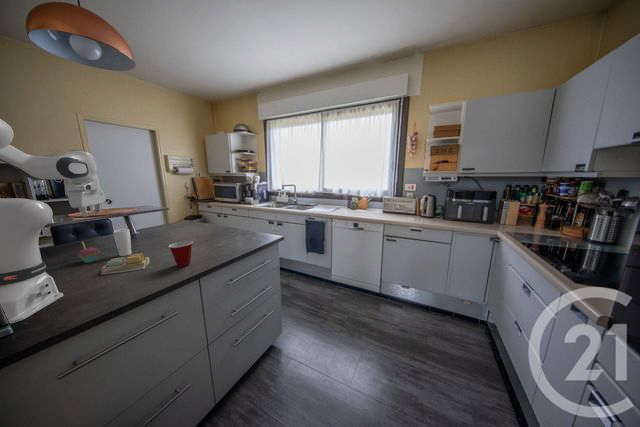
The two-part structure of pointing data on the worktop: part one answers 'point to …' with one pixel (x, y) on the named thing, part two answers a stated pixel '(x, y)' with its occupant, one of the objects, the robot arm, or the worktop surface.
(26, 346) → the worktop surface
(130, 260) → the ochre block
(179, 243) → the plastic cup
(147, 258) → the slot board
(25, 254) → the robot arm
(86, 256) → the cupcake
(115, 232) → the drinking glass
